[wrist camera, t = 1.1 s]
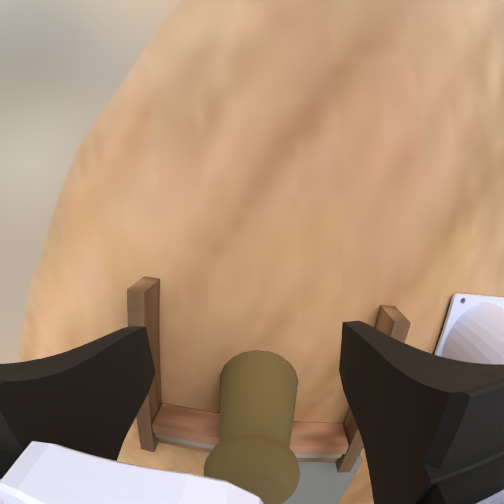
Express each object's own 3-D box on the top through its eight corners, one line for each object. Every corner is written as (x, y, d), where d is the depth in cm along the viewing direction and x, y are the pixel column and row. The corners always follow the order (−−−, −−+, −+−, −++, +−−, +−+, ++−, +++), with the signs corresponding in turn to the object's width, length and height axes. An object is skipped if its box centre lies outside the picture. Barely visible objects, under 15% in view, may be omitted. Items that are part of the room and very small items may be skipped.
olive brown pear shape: (297, 409, 23) (307, 519, 12) (224, 411, 24) (202, 518, 13) (297, 348, 22) (312, 462, 11) (215, 351, 22) (178, 461, 12)
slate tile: (360, 455, 24) (361, 461, 23) (335, 501, 26) (335, 506, 25) (236, 450, 25) (235, 456, 24) (230, 496, 26) (229, 502, 26)
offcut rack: (394, 306, 21) (410, 322, 18) (344, 449, 24) (350, 472, 21) (144, 276, 22) (126, 289, 19) (151, 427, 25) (141, 448, 22)
